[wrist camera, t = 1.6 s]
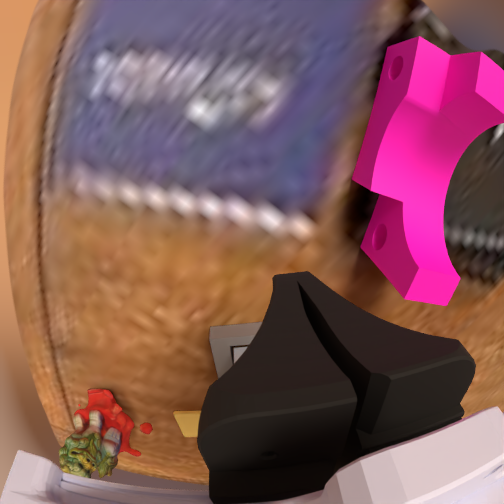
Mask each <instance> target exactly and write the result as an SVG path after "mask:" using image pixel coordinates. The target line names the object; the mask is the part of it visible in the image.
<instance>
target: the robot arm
mask: <svg viewBox="0 0 504 504" xmlns="http://www.w3.org/2000/svg"><path fill="white" fill-rule="evenodd" d="M475 368H476V364H475V362H474V359H473V358H472V357H471V355H470V354H469V353H468V352H467V350H466V349H465V348H464V346H463V345H462V344H461V343H460V342H459V340H456V339H450V338H444V337H438V336H432V335H428V334H424V333H420V332H417V331H413V330H410V329H407V328H403V327H400V326H398V325H395V324H393V323H390V322H387V321H385V320H383V319H380V318H378V317H376V316H374V315H372V314H370V313H368V312H366V311H364V310H362V309H361V308H359V307H357V306H355V305H354V304H352V303H351V302H349V301H347V300H346V299H344V298H343V297H341V296H340V295H339V294H337V293H336V292H334V291H333V290H332V289H330V288H329V287H328V286H326V285H325V284H324V283H322V282H321V281H320V280H319V279H317V278H316V277H315V276H314V275H312V274H311V273H310V272H308V271H306V272H297V273H288V274H279V275H275V276H274V277H273V292H272V296H271V300H270V304H269V307H268V309H267V312H266V315H265V317H264V320H263V322H262V324H261V326H260V328H259V330H258V331H257V333H256V335H255V337H254V338H253V340H252V341H251V343H250V344H249V346H248V347H247V349H246V350H245V351H244V353H243V354H242V355H241V356H240V357H239V358H238V360H237V361H236V362H235V363H234V364H233V365H232V366H231V368H230V369H229V370H228V371H227V372H225V373H224V374H223V375H222V376H221V377H220V378H219V379H218V380H216V381H215V382H214V383H213V384H212V385H211V386H210V387H209V389H208V392H207V395H206V397H205V400H204V403H203V406H202V409H201V413H200V418H199V423H198V436H197V443H198V448H199V451H200V453H201V455H202V457H203V459H204V461H205V463H206V465H207V467H208V469H209V490H202V491H201V490H175V489H160V488H148V487H139V486H132V485H125V484H118V483H112V482H106V481H100V480H95V479H90V478H86V477H81V476H77V475H73V474H69V473H65V472H62V470H61V469H60V468H59V467H58V466H57V465H56V464H55V463H54V462H52V461H51V460H49V459H47V458H45V457H42V456H39V455H35V454H32V453H29V452H26V451H23V450H18V452H17V454H16V457H15V459H14V462H13V465H12V467H11V470H10V473H9V475H8V478H7V481H6V484H5V487H4V490H3V492H2V496H1V499H0V504H504V412H503V413H502V412H501V410H500V409H499V408H498V407H490V408H487V409H484V410H481V411H478V412H476V413H474V414H472V415H470V416H468V417H466V418H464V419H462V418H461V417H462V416H463V415H464V410H463V408H462V406H461V405H460V402H461V400H462V399H463V397H464V395H465V393H466V392H467V390H468V388H469V386H470V384H471V382H472V380H473V377H474V374H475Z"/></svg>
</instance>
